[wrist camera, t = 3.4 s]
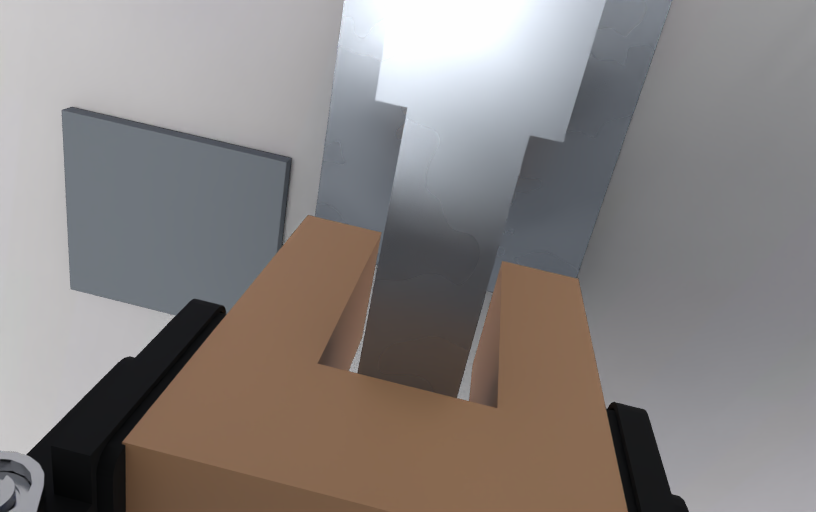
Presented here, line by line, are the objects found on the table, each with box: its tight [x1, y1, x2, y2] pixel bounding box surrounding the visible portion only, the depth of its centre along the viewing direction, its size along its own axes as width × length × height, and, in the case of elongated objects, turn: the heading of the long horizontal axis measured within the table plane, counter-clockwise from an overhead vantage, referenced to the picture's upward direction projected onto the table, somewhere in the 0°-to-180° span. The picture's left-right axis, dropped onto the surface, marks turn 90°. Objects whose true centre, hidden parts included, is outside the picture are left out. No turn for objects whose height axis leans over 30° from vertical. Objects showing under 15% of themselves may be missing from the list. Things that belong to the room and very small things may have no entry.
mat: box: [62, 107, 291, 315], centre depth 26 cm, size 9×8×1 cm
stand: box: [315, 0, 672, 398], centre depth 16 cm, size 10×12×15 cm
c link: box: [122, 215, 628, 512], centre depth 12 cm, size 6×3×8 cm, turn 79°
